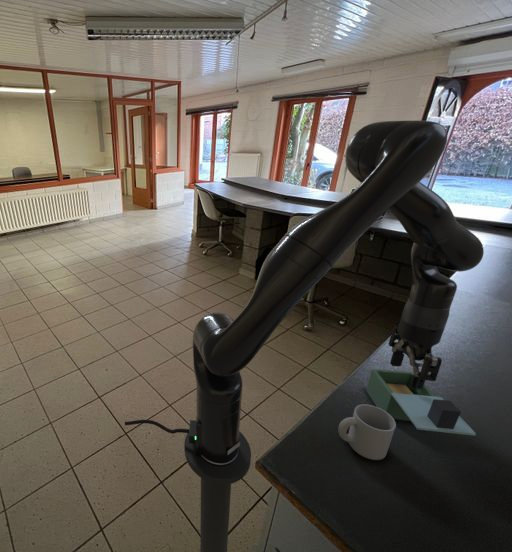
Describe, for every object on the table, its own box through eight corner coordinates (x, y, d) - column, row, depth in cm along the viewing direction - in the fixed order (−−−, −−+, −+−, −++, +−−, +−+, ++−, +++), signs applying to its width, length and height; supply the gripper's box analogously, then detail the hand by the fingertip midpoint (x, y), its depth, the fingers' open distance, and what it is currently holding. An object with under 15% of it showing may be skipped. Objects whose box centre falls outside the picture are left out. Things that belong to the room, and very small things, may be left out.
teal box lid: (417, 429, 62) (424, 409, 60) (391, 394, 71) (396, 376, 69) (475, 435, 60) (484, 415, 58) (440, 398, 69) (447, 380, 67)
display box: (384, 418, 74) (391, 394, 71) (366, 390, 83) (371, 368, 80) (429, 422, 72) (438, 399, 69) (405, 394, 81) (413, 371, 78)
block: (391, 408, 76) (395, 395, 74) (382, 396, 80) (386, 383, 78) (411, 410, 75) (416, 397, 73) (401, 397, 79) (405, 384, 77)
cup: (393, 463, 63) (404, 433, 60) (341, 457, 65) (349, 427, 62) (375, 434, 70) (384, 405, 67) (329, 430, 72) (335, 401, 69)
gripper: (387, 304, 75) (373, 357, 81) (424, 335, 62) (404, 395, 68) (422, 306, 74) (405, 359, 80) (467, 338, 61) (442, 399, 67)
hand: (404, 376), depth 74 cm, fingers open, 8 cm apart
